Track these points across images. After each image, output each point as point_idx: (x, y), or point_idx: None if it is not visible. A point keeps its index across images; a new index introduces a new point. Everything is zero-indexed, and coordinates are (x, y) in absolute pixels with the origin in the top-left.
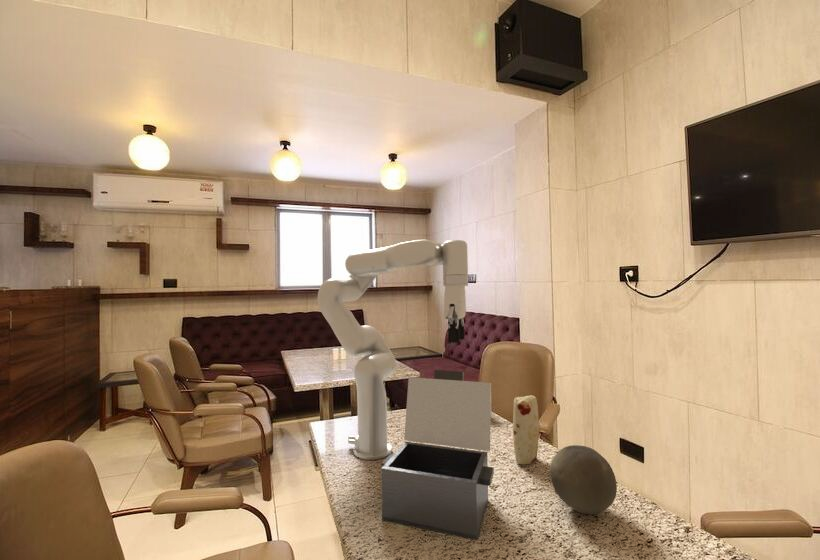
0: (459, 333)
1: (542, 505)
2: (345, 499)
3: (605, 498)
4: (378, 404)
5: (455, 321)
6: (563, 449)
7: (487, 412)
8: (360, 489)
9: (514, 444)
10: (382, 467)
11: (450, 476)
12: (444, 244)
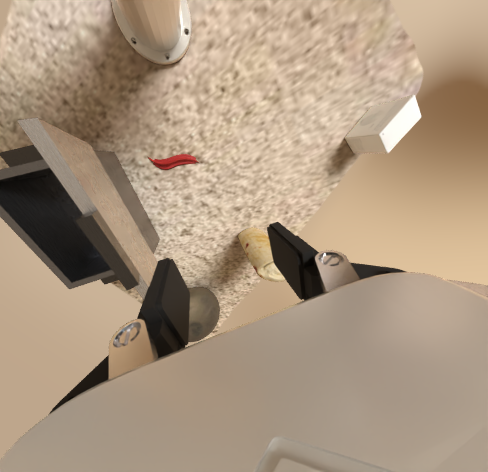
0: (281, 262)
1: (184, 272)
2: (9, 89)
3: None
4: None
5: (323, 289)
6: (190, 321)
7: None
8: (49, 93)
9: (245, 238)
10: None
11: (54, 264)
12: None
